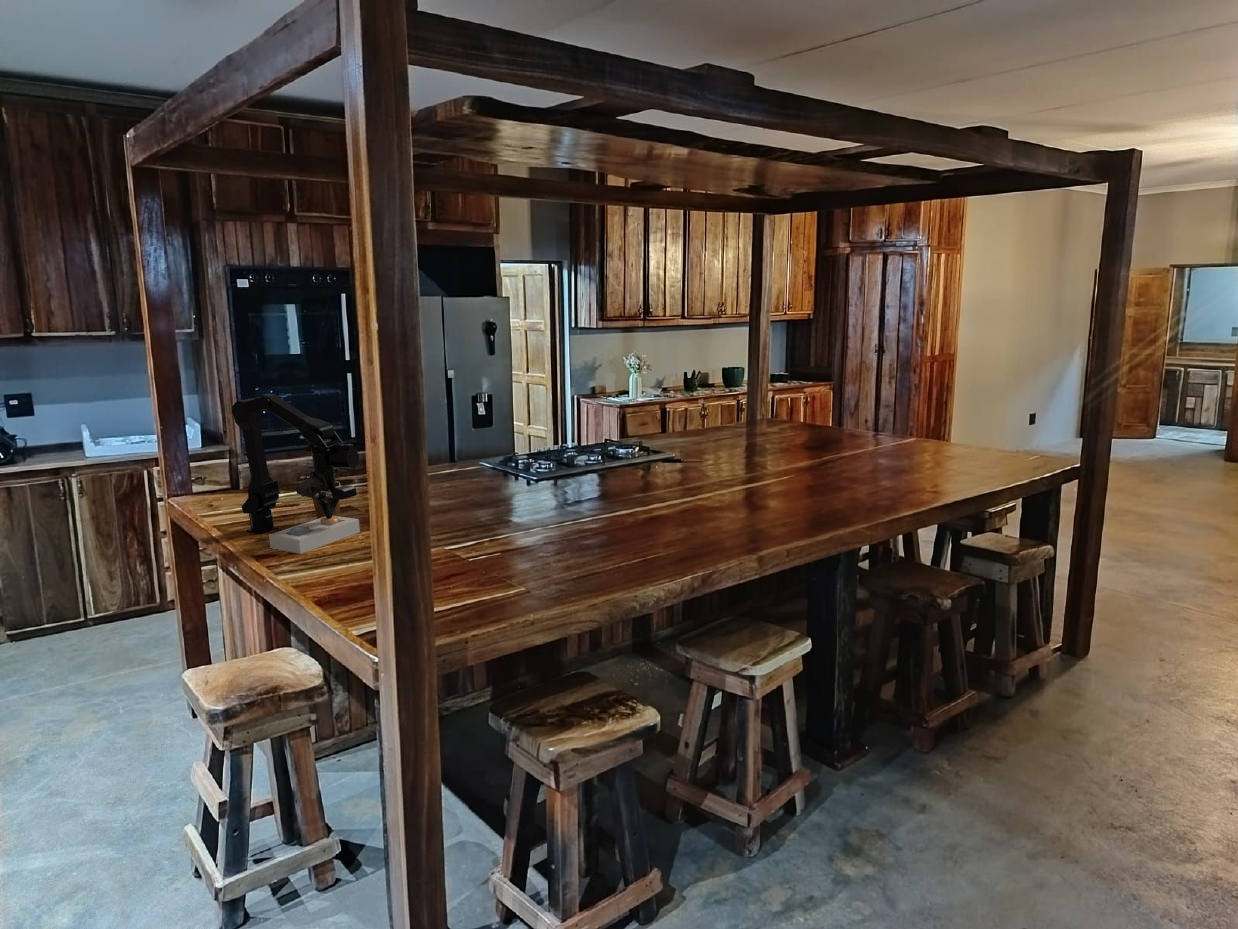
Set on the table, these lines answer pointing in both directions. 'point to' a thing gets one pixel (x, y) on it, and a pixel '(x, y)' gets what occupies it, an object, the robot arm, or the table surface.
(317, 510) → the disposable coffee cup
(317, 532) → the button panel
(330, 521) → the terracotta button
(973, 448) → the table surface
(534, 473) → the table surface
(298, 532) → the slate-grey button
